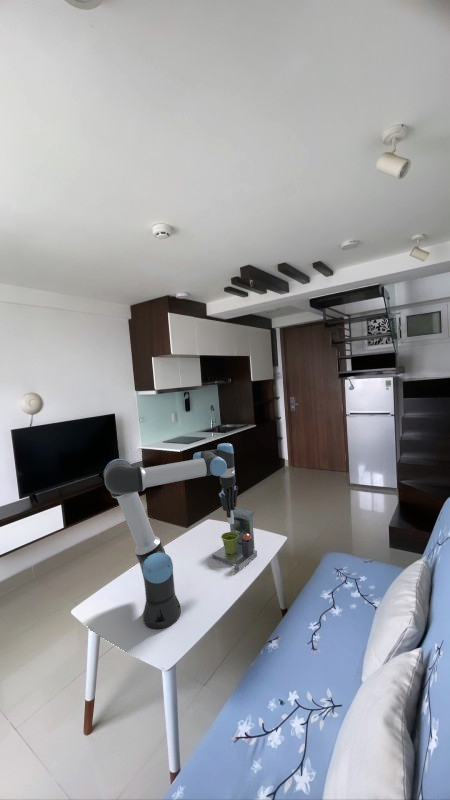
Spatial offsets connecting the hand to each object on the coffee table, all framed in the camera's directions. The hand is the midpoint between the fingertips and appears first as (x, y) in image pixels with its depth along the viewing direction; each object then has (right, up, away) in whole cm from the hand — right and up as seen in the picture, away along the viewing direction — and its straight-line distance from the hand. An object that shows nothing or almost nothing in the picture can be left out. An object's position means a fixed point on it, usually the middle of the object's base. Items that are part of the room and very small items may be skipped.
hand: (230, 523), depth 156 cm
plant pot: (0, -22, +16) cm, 27 cm away
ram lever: (+9, -20, +10) cm, 24 cm away
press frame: (+4, -23, +16) cm, 29 cm away
